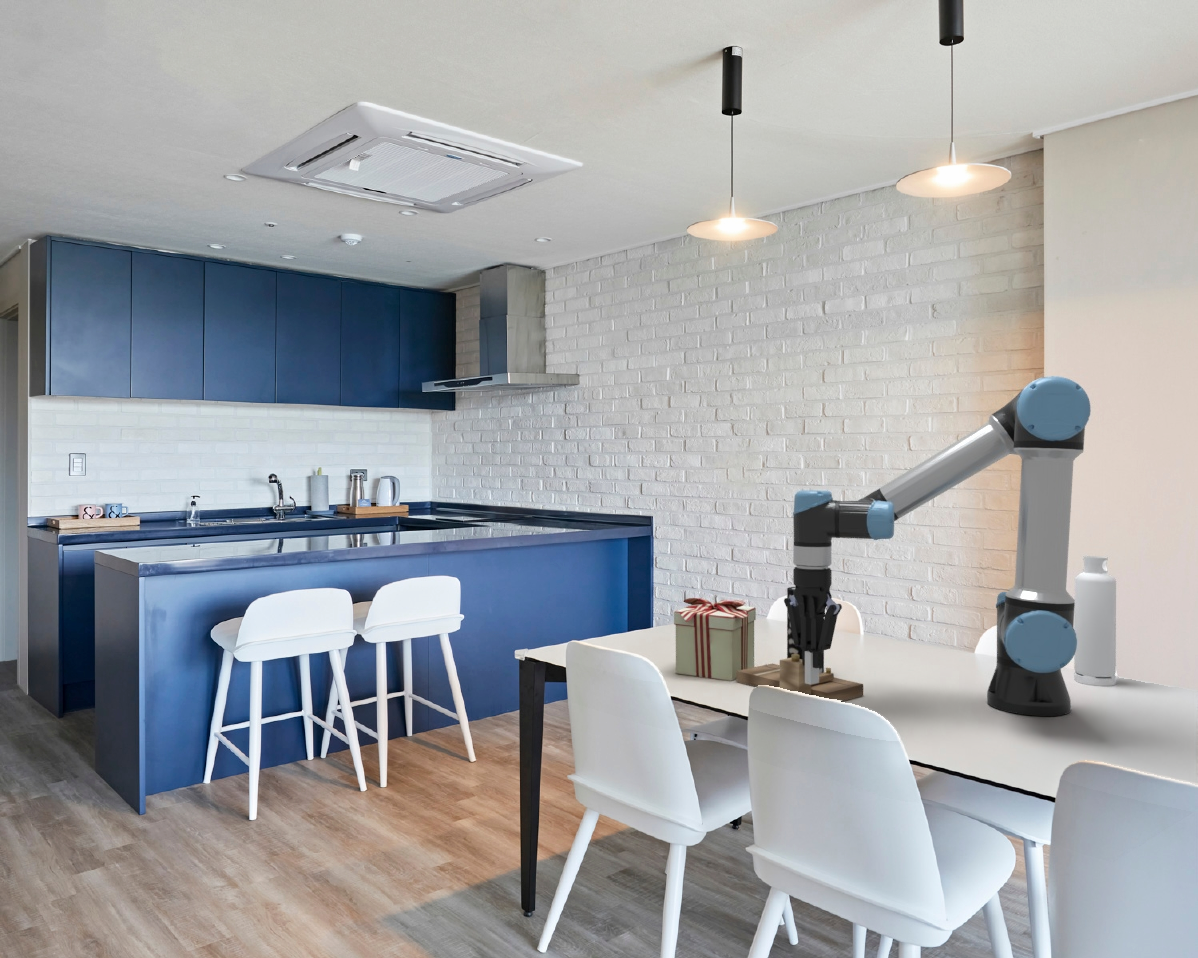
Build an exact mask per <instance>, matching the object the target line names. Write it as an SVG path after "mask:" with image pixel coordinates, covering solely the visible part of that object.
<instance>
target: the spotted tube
mask: <svg viewBox="0 0 1198 958" xmlns="http://www.w3.org/2000/svg"><path fill="white" fill-rule="evenodd" d="M794 590H795V586H791V587H787V588H786V598H789V597H791V596H792V595H794ZM786 623H787V624H786V647H787V648H786V651H787V653H786V659H787V658H791V655H792V654H798V655H799V659H802V649H801V648H800V647H799V646H796V645H794V641H793V635H792V630H791V624H790V619H789V613H788V609H787V608H786ZM824 672H825V650H824V651H823V652H822V666H821V667H820V668H819V674H820V673H824Z"/></svg>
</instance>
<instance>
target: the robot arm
mask: <svg viewBox="0 0 1198 958" xmlns="http://www.w3.org/2000/svg"><path fill="white" fill-rule="evenodd" d="M1090 416H1091V402H1090V399H1089V396H1088V394H1087V392H1086V391H1085V389H1084V388H1083V387H1082V386H1081V385H1080V384H1079V383H1077V382H1076V381H1074V380H1073V379H1070V378H1067V377H1063V376H1054V375H1053V376H1043V377H1039V378H1037V379H1035V380H1033V381H1031V382H1030V383H1028V384H1027V385H1025V387H1024V388H1023V389H1022V390H1021V391H1019V392H1018V393H1017V395H1015V396H1014V398H1013V399H1011V400H1010V401H1009V402H1008V403H1006V404H1005V405H1004V406H1002V407H1001V408H1000V409H998V410H997V411H995V412H993V413H992V414H989V417H988V420H987V422H986V423H985V424H983V425H981V426H980V427H978V428H977V429H975V430H973V431H972V432H970V433H968V434H966V435H965V436H963V437H962V438H960V439H958V440H957V441H955V442H953V443H952V444H950V445H948V446H947V447H945V448H943V449H942V450H940V451H939V452H937V453H936V454H934V455H932V456H930V457H928V458H927V459H925V460H924V461H922V462H921V463H918V464H917V465H915V466H914V467H911V469H908V471H905V472H904V473H901V474H900V475H899V476H897V477H896V478H894V479H892V480H891V481H889V482H887V483H885V484H883V485H882V486H880V487H879V488H878V489H876V490H874V491H872V492H870V493H869V494H867V495H865V496H864V497H862V498H860V499H858V500H836V499H834V498H833V495H832V492H831V491H829V490H810V489H809V490H808V489H807V490H799V491H797V492H796V493H795V494H794V499H793V513H792V517H793V519H792V520H793V521H792V522H793V524H792V525H793V551H792V552H793V557H792V558H793V561H792V562H793V563H792V564H793V565H795V567H794V568H793V575H792V576H793V578H792V579H793V582H792V583H793V585H794V587H795V590H794V595H792V596H791V597H789V598H787V597H785V598H784V599H783V602H784V605H785V607H786V610H787V609H788V613H789V619H790V624H791V630H792V635H793V641H794V645H796V646H799V647H800V648H801V649H802V664H803V665H804V666H805V683H806V684H810V685H811V684H816V683H819V668H820V667H821V666H822V652H823V651H824V652H825V651H827V650H831V647H832V643H833V639H834V634H835V630H836V629H835V628H836V623H837V620H838V615H839V614H840V612H841V610H842V609H843V606H842V604H841V603H836V602H835V601H834V600H833V599H832V593H831V590H830V589H831V587H832V572H833V571H832V569H831V568H830V566H831V565H832V544H833V543H832V540H833V539H841V538H842V539H857V540H858V539H860V540H863V539H864V540H873V541H877V540H890V539H892V538H893V537H894V536H895V535H894V534H895V522H896V521H898V520H899V519H900V518H903V517H904V516H906V515H908V514H909V513H911V512H913V511H914V510H916V509H918V508H920V507H922V506H923V505H925V504H927V503H928V502H930V501H932V500H934V499H935V498H937V497H938V496H940V495H942V494H944V493H946V492H947V491H948V490H951V489H952V488H953V487H956V486H957V485H959V484H961V483H962V482H964V481H966V480H967V479H969V478H971V477H973V476H974V475H976V474H978V473H979V472H981V471H984V469H986V468H988V467H990V466H991V465H993V464H995V463H997V462H998V461H1001V460H1002V459H1004V458H1005V457H1007V456H1009V455H1016V456H1020V459H1021V468H1020V485H1019V501H1018V502H1019V503H1018V522H1017V523H1018V524H1017V539H1016V540H1017V541H1016V556H1015V557H1016V558H1015V575H1014V577H1015V578H1014V585H1013V586H1012V588H1010V589H1009V590H1008V591H1001V592H999V593H998V594H997V597H996V598H997V600H996V603H995V608H996V666H995V669H994V672H993V675H992V677H991V680H990V683H989V686H988V689H987V692H986V693H987V694H986V702H987V704H988V705H989V706H991V707H992V708H995V709H997V710H1001V711H1003V712H1008V713H1012V714H1020V715H1027V716H1036V717H1037V716H1038V717H1055V716H1063V715H1067V714H1069V713H1071V706H1072V705H1071V704H1072V703H1071V696H1070V693H1069V691H1068V688H1067V685H1066V683H1065V679H1064V676H1063V674H1062V669H1064V668H1065V667H1066V666H1067V665H1069V663H1070V662H1071V661H1072V660H1073V658H1074V655H1075V652H1076V648H1077V638H1076V633H1075V627H1074V626H1075V598H1073V597H1072V596H1071V594H1070V593H1069V592H1068V590H1067V582H1068V581H1067V578H1068V566H1069V565H1068V562H1069V544H1070V543H1069V542H1070V529H1071V527H1070V526H1071V525H1070V524H1071V512H1072V510H1071V509H1072V493H1073V490H1072V489H1073V473H1074V461H1075V460H1076V458H1078V457H1079V456H1080V455H1081V454H1082V453H1084V446H1085V432H1086V431H1085V430H1086V429H1085V428H1086V426H1087V423H1088V422H1089V420H1090V419H1089V418H1090Z"/></svg>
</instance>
